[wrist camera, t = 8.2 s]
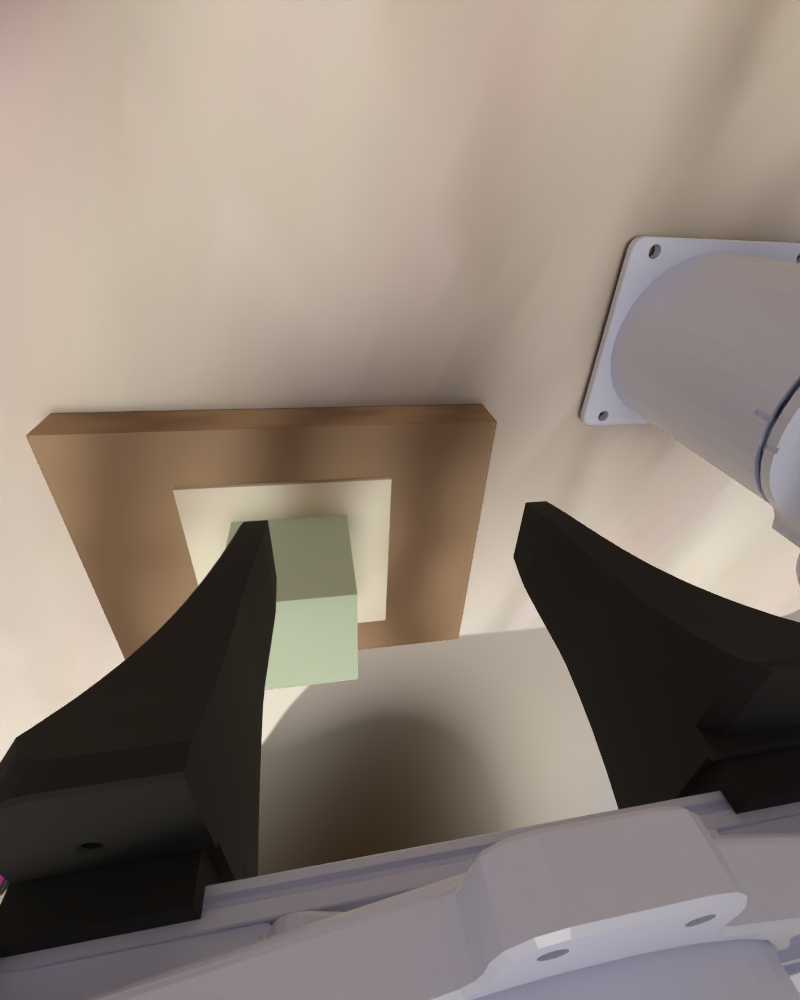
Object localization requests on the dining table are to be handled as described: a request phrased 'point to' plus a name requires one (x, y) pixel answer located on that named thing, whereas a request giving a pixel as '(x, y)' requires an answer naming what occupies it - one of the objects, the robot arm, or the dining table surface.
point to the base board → (273, 503)
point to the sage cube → (312, 602)
